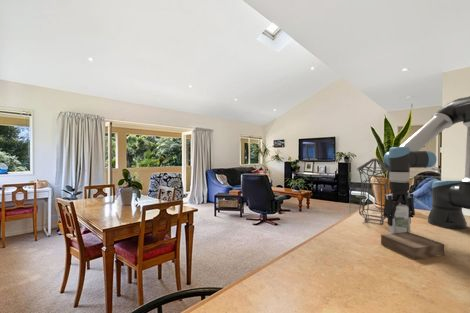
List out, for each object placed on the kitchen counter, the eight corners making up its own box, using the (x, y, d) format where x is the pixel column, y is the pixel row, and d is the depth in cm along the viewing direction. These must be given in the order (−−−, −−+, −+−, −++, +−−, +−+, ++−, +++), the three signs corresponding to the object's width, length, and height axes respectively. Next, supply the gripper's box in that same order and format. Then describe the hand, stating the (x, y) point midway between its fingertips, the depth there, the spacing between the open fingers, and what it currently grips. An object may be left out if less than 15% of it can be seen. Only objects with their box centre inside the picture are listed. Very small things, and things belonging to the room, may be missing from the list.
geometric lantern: (392, 221, 128) (393, 158, 127) (388, 228, 116) (389, 159, 115) (361, 215, 138) (361, 157, 137) (354, 222, 127) (355, 158, 125)
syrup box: (405, 235, 106) (405, 203, 105) (408, 239, 100) (408, 206, 100) (390, 233, 108) (390, 202, 108) (392, 238, 103) (392, 205, 102)
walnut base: (408, 241, 99) (408, 231, 99) (444, 255, 85) (444, 244, 85) (381, 244, 96) (381, 234, 96) (414, 259, 82) (414, 248, 82)
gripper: (409, 179, 110) (409, 227, 110) (373, 181, 105) (373, 231, 105) (425, 181, 103) (425, 232, 103) (387, 183, 98) (387, 237, 98)
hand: (399, 231), depth 104 cm, fingers closed on syrup box, 8 cm apart
